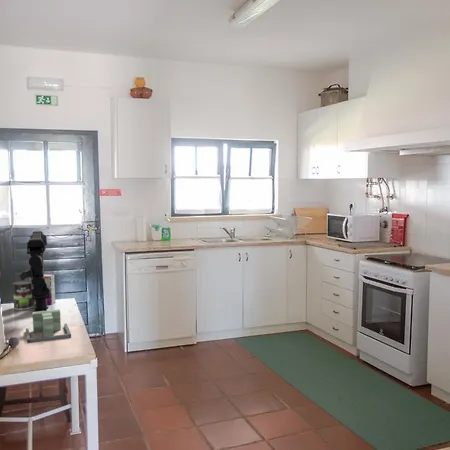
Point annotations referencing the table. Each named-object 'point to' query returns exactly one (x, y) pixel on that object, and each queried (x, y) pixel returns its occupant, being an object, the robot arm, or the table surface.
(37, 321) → the T-block
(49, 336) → the frame
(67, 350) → the table surface
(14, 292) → the coffee can
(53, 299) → the candy bar box
